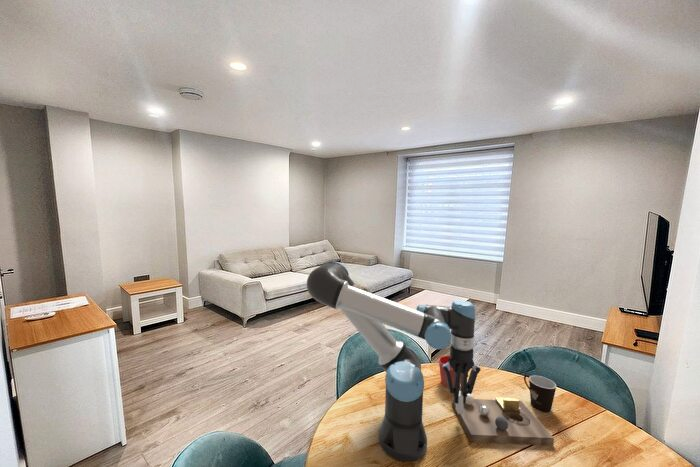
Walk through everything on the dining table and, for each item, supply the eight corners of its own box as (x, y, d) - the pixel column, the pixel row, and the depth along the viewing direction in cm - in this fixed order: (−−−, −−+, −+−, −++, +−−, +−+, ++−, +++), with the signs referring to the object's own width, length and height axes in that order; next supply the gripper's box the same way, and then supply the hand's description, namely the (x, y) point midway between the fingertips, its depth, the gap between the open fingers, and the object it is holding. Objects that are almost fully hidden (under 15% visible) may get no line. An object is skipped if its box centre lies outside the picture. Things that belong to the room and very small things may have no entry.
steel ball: (481, 418, 97) (481, 409, 97) (477, 412, 101) (477, 403, 101) (491, 419, 97) (491, 409, 97) (486, 412, 101) (487, 403, 101)
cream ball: (465, 407, 103) (465, 397, 103) (461, 400, 107) (462, 390, 107) (475, 407, 103) (476, 397, 103) (471, 400, 107) (472, 391, 107)
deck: (470, 441, 91) (471, 434, 90) (452, 404, 109) (452, 398, 108) (553, 445, 90) (553, 438, 90) (520, 407, 108) (521, 400, 108)
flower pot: (466, 381, 124) (467, 359, 124) (461, 394, 115) (462, 371, 114) (441, 373, 130) (442, 353, 129) (435, 385, 121) (435, 363, 120)
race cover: (503, 410, 102) (503, 400, 101) (495, 399, 108) (495, 389, 107) (520, 411, 101) (520, 400, 101) (511, 400, 107) (511, 390, 107)
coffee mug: (559, 416, 103) (561, 390, 102) (533, 412, 105) (534, 387, 104) (544, 396, 114) (545, 372, 114) (520, 393, 116) (522, 370, 115)
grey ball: (498, 433, 91) (498, 421, 91) (492, 424, 95) (493, 413, 95) (510, 433, 91) (510, 422, 91) (504, 424, 95) (504, 414, 95)
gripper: (446, 350, 94) (443, 418, 96) (485, 352, 94) (482, 419, 95) (439, 340, 102) (437, 403, 103) (476, 341, 101) (473, 404, 103)
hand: (459, 411), depth 99 cm, fingers closed
